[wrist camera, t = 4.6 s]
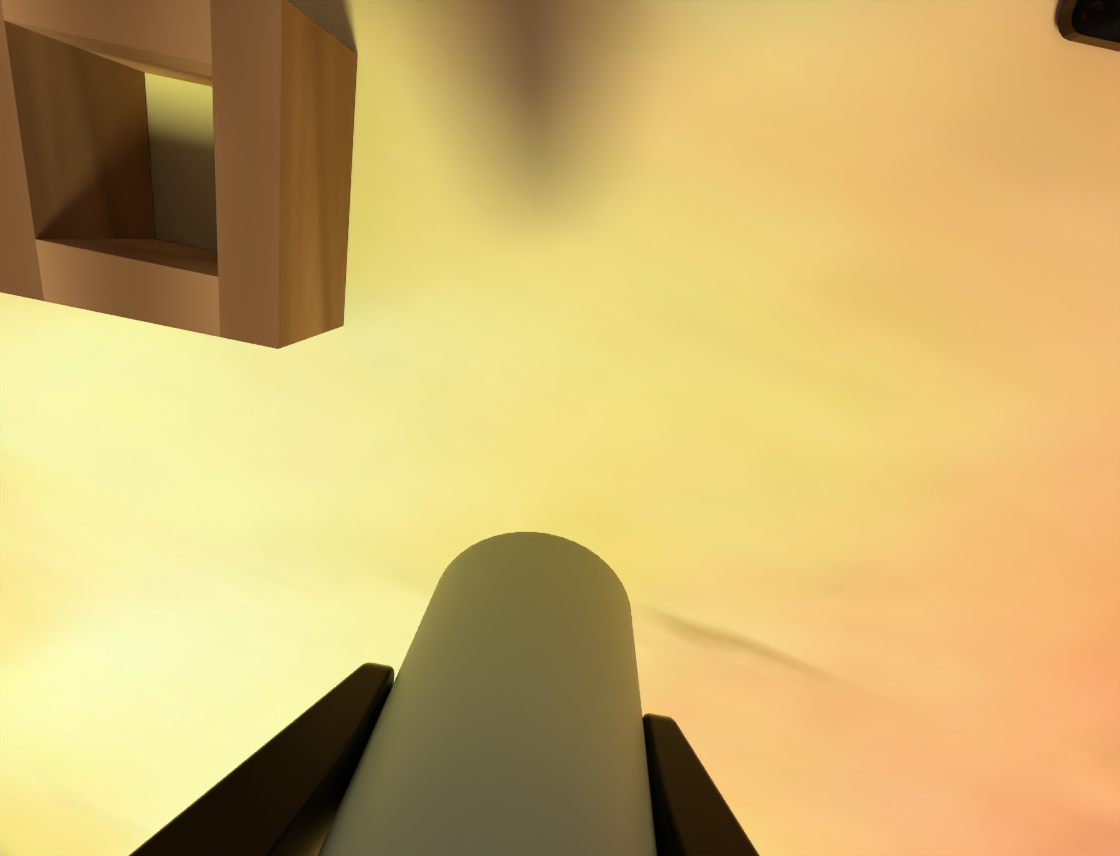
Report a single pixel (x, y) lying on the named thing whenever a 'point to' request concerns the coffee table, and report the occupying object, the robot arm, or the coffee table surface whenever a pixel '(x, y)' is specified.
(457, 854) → the dowel
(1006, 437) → the coffee table surface
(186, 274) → the socket block
